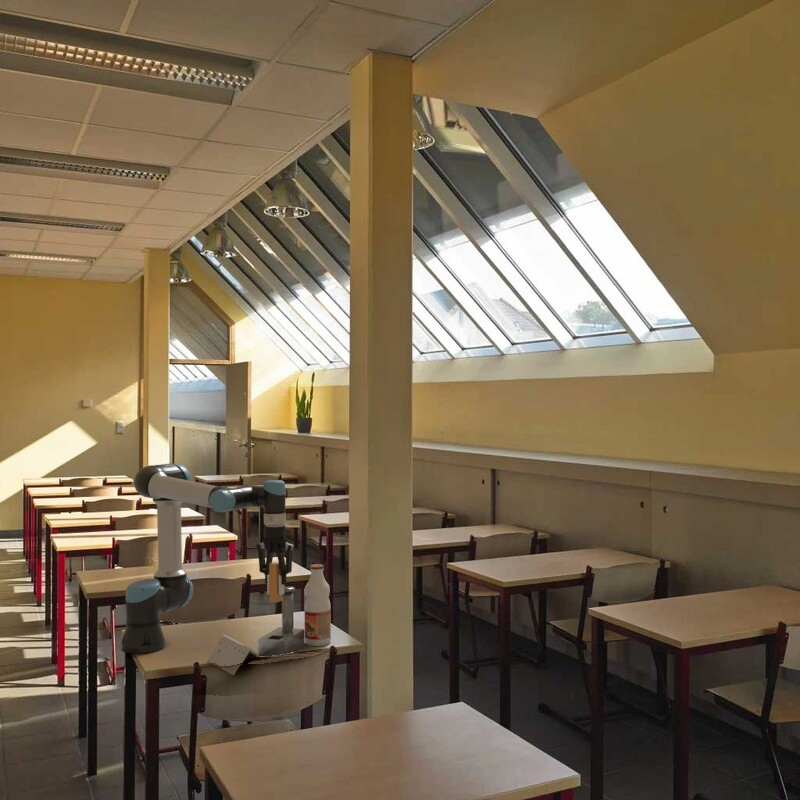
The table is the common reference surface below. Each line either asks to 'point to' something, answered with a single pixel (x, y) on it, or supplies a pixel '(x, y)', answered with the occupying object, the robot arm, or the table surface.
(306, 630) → the fruit juice
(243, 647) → the bracket
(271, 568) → the tan wooden beam
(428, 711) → the table surface
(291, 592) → the grey post stand
